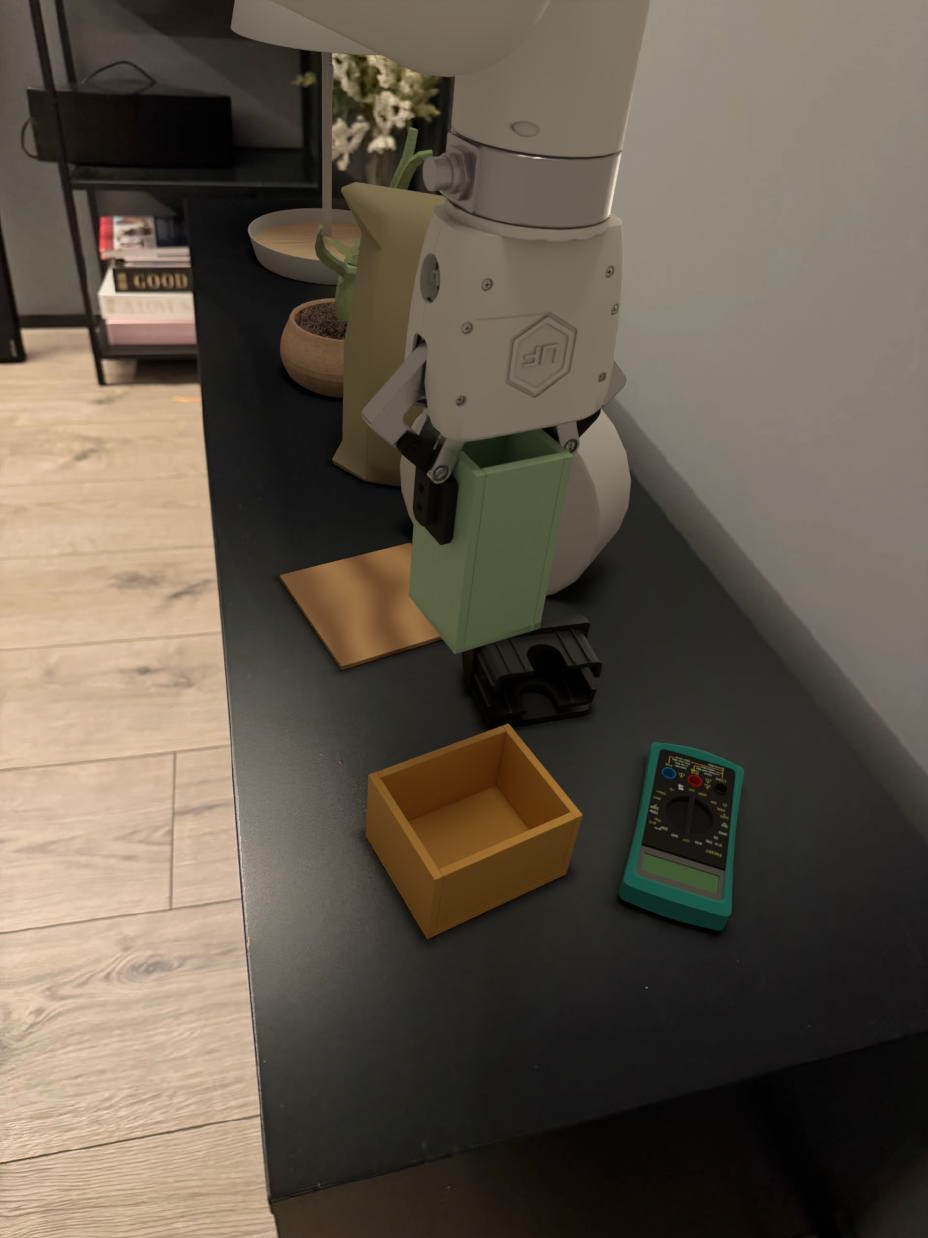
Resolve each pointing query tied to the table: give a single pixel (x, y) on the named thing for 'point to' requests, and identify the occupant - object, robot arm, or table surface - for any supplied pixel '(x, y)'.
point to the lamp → (293, 233)
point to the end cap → (534, 674)
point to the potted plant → (333, 305)
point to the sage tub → (494, 541)
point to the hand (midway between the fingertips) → (485, 516)
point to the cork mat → (362, 606)
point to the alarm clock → (576, 501)
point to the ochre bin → (469, 827)
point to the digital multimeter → (685, 836)
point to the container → (379, 318)
